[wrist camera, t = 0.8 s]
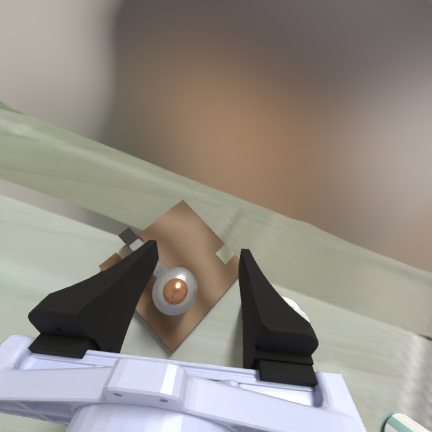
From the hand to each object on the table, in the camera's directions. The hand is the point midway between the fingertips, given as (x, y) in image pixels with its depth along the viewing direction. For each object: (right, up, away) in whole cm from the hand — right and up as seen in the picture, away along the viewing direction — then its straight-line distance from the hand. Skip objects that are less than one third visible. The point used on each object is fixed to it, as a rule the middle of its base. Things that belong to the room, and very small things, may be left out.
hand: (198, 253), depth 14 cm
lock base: (-5, -5, +13) cm, 15 cm away
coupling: (-7, -5, +11) cm, 14 cm away
